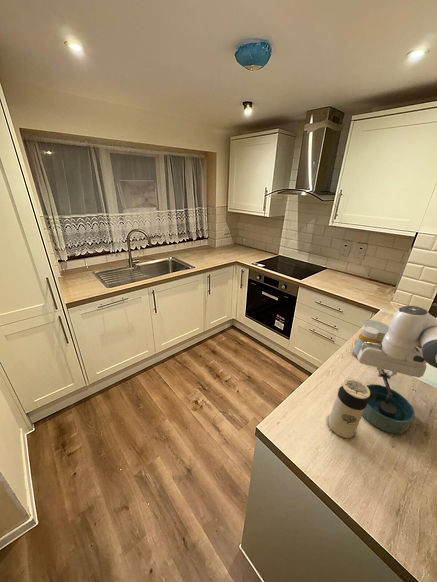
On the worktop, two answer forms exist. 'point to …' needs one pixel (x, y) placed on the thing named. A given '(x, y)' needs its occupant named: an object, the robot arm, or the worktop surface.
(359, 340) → the bottle
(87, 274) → the worktop surface
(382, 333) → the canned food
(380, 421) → the bowl
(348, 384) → the travel mug
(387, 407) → the ladle
